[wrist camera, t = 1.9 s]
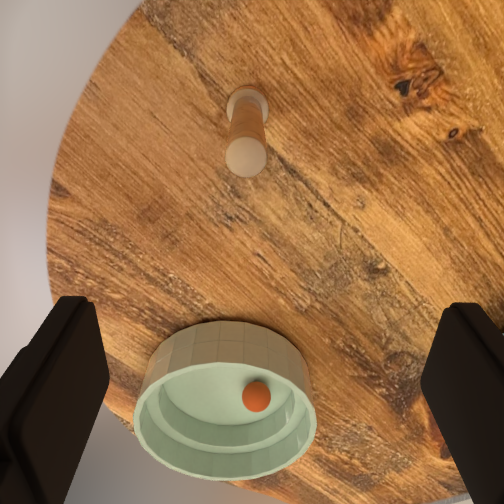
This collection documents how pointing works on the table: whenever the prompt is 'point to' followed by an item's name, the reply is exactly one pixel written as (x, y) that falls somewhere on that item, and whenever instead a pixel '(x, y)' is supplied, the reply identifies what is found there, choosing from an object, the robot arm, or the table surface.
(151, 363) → the bowl
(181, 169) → the table surface
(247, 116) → the rod
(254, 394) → the ball
